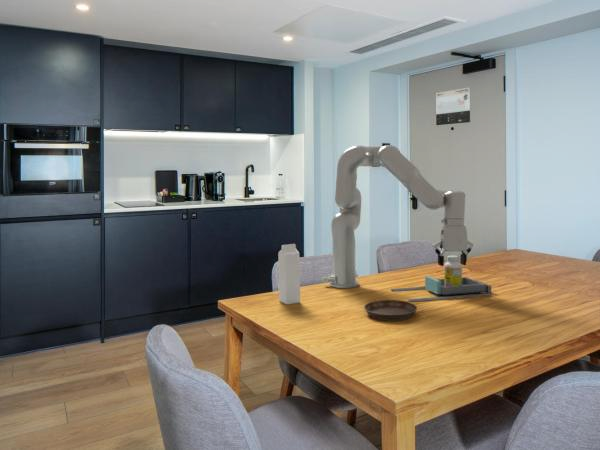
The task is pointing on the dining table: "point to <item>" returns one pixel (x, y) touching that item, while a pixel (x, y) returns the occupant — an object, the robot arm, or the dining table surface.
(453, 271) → the supplement bottle
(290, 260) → the milk
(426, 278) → the drawer
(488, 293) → the rails
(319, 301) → the dining table surface
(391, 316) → the plant saucer
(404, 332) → the dining table surface
